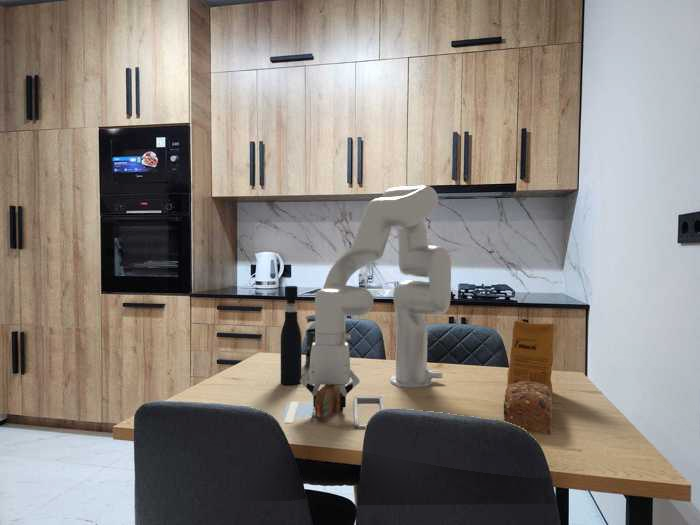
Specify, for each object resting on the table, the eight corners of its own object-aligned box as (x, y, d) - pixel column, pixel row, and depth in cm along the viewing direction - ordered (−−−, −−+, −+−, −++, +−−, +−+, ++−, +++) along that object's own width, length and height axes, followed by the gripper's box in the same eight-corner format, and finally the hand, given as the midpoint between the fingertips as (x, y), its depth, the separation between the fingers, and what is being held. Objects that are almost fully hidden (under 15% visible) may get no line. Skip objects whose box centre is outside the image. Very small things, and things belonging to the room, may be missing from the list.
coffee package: (511, 389, 142) (513, 316, 141) (555, 397, 136) (558, 321, 134) (502, 399, 134) (504, 321, 133) (549, 407, 127) (552, 326, 126)
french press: (320, 369, 161) (321, 302, 160) (298, 365, 166) (298, 300, 165) (339, 361, 171) (339, 298, 170) (317, 358, 176) (317, 296, 175)
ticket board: (317, 407, 126) (317, 401, 126) (313, 428, 112) (313, 422, 112) (287, 406, 126) (287, 401, 126) (279, 428, 112) (279, 422, 112)
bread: (551, 446, 104) (552, 402, 104) (500, 438, 108) (501, 395, 108) (551, 416, 121) (552, 378, 121) (507, 410, 125) (508, 373, 125)
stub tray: (382, 405, 128) (382, 397, 128) (387, 435, 109) (388, 426, 108) (353, 404, 128) (353, 396, 128) (354, 435, 109) (354, 426, 108)
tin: (324, 430, 112) (325, 394, 111) (312, 428, 113) (312, 393, 112) (344, 407, 126) (345, 376, 126) (333, 406, 127) (333, 375, 126)
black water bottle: (291, 388, 142) (291, 288, 140) (276, 383, 146) (276, 286, 144) (305, 382, 147) (306, 286, 145) (290, 378, 151) (290, 284, 149)
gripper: (363, 335, 122) (363, 404, 123) (297, 335, 122) (297, 404, 123) (364, 342, 114) (364, 415, 115) (294, 341, 114) (293, 415, 115)
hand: (329, 409), depth 119 cm, fingers open, 5 cm apart
